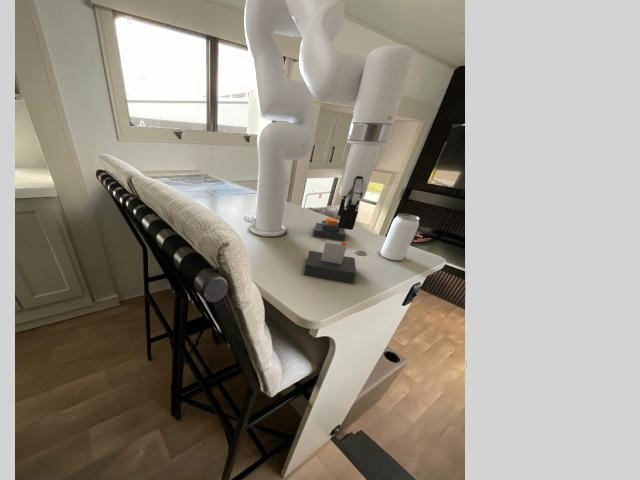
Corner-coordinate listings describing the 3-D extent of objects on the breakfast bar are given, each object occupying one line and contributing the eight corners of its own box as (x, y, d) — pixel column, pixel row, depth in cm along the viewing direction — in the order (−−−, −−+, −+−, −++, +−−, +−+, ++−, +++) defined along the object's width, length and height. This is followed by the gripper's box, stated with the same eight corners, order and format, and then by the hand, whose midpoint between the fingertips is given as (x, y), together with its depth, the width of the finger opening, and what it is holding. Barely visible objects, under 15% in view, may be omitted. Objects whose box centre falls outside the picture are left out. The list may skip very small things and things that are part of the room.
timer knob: (321, 260, 65) (326, 241, 62) (321, 257, 67) (326, 238, 63) (341, 264, 64) (347, 245, 61) (341, 260, 65) (346, 242, 62)
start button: (325, 225, 86) (326, 220, 85) (325, 222, 89) (326, 217, 88) (336, 226, 85) (337, 221, 84) (336, 223, 88) (337, 218, 87)
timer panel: (303, 274, 65) (306, 264, 63) (307, 260, 72) (309, 250, 70) (352, 283, 62) (356, 273, 60) (351, 267, 69) (354, 257, 67)
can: (406, 262, 73) (425, 221, 66) (382, 259, 74) (399, 219, 67) (399, 253, 78) (416, 214, 71) (377, 250, 79) (392, 212, 72)
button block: (312, 236, 87) (315, 224, 85) (314, 228, 93) (317, 217, 91) (343, 240, 85) (346, 229, 82) (342, 232, 91) (345, 221, 89)
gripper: (346, 133, 57) (329, 210, 67) (349, 135, 43) (327, 231, 53) (382, 135, 55) (358, 214, 65) (397, 137, 42) (364, 236, 51)
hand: (344, 222), depth 59 cm, fingers open, 9 cm apart
